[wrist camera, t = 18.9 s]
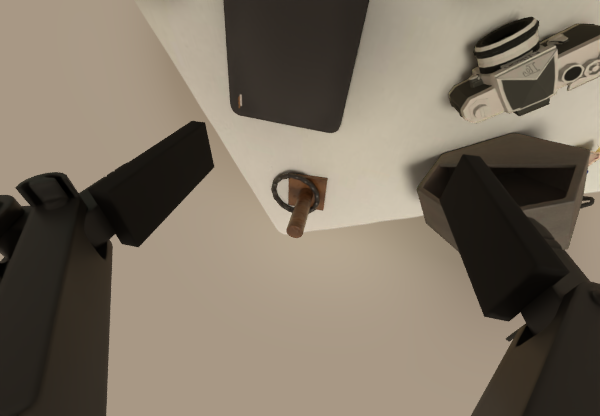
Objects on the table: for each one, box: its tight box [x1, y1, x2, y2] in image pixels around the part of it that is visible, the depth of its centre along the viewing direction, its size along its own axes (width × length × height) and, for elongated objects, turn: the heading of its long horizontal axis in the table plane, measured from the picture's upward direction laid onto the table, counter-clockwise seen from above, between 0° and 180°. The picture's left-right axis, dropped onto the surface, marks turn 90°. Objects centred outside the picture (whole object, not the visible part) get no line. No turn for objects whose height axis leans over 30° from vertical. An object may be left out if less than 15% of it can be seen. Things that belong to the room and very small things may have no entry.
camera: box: [448, 17, 600, 123], centre depth 29 cm, size 16×9×10 cm, turn 124°
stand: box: [287, 173, 327, 238], centre depth 49 cm, size 8×8×13 cm
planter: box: [417, 133, 590, 252], centre depth 36 cm, size 17×8×21 cm
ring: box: [271, 173, 320, 214], centre depth 53 cm, size 11×11×1 cm
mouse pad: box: [224, 0, 369, 133], centre depth 38 cm, size 23×20×1 cm
